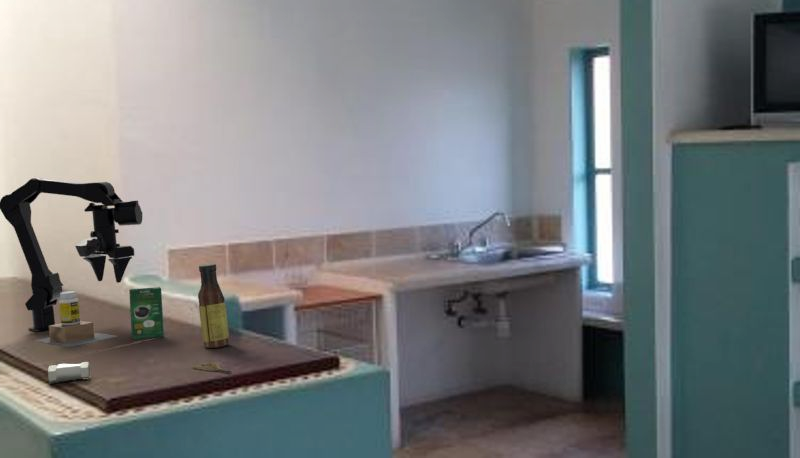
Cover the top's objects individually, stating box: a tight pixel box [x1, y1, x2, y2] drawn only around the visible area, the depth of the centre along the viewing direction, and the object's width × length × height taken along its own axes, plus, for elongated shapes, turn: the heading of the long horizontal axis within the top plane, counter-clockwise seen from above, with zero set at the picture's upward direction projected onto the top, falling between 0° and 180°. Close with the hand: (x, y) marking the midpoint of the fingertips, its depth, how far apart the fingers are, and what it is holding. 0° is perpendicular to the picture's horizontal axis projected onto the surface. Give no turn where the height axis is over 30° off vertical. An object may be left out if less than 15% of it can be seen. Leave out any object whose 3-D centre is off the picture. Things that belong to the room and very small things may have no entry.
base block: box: [48, 320, 95, 343], centre depth 240 cm, size 8×8×4 cm
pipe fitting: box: [47, 361, 92, 385], centre depth 196 cm, size 8×4×7 cm
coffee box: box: [128, 286, 165, 340], centre depth 237 cm, size 8×3×13 cm, turn 110°
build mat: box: [33, 332, 118, 348], centre depth 241 cm, size 18×14×1 cm
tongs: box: [192, 362, 233, 374], centre depth 196 cm, size 4×13×2 cm, turn 48°
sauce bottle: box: [197, 263, 230, 349], centre depth 221 cm, size 6×6×20 cm
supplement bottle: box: [58, 290, 81, 325], centre depth 240 cm, size 5×5×8 cm
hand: (109, 281), depth 259 cm, fingers open, 9 cm apart
